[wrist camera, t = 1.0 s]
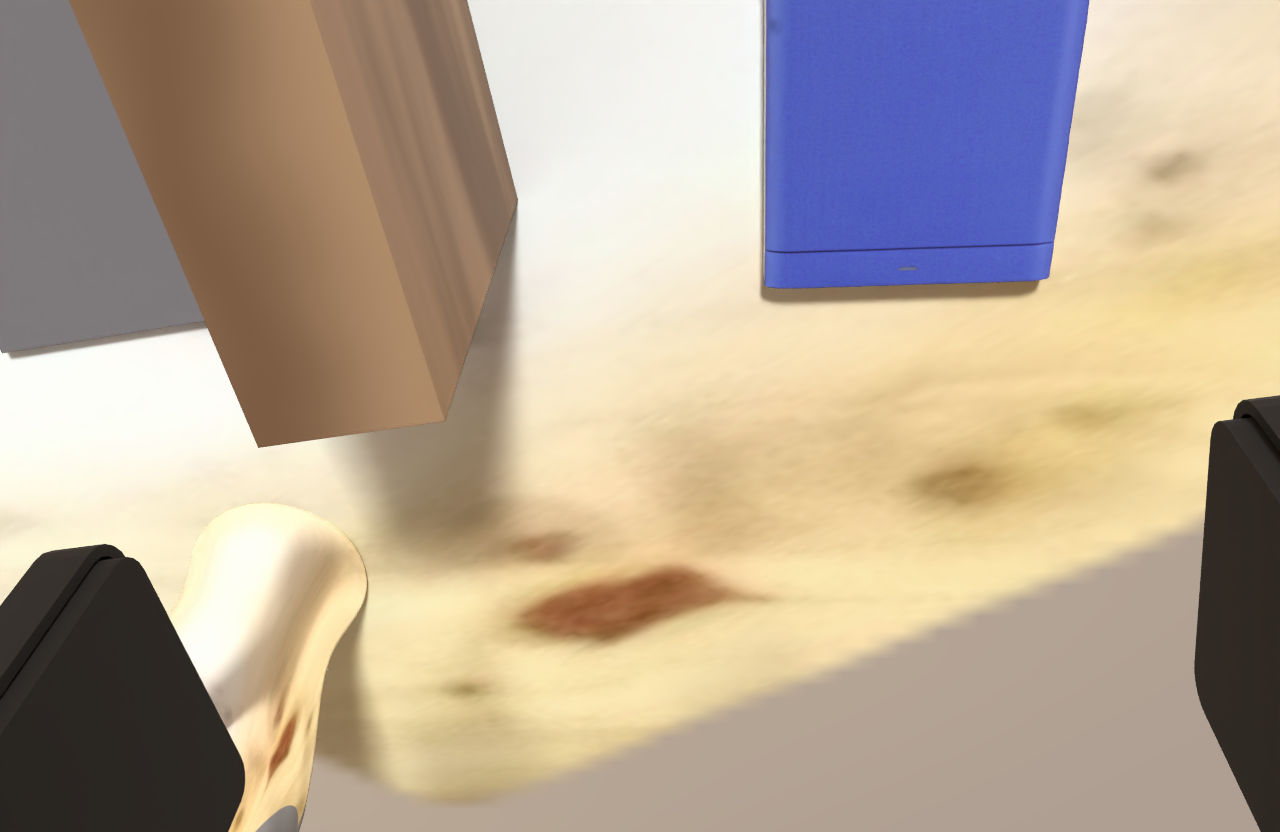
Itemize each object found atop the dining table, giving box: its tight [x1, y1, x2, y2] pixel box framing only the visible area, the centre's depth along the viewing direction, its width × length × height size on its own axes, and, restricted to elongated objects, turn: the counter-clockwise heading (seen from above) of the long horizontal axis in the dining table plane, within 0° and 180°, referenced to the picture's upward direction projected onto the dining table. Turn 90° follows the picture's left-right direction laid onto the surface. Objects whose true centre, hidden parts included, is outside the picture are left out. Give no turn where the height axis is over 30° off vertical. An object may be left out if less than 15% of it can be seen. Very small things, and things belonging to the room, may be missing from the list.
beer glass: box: [168, 503, 367, 832], centre depth 35 cm, size 7×7×15 cm
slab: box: [69, 0, 518, 448], centre depth 27 cm, size 4×10×12 cm, turn 11°
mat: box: [0, 0, 204, 353], centre depth 33 cm, size 11×14×1 cm
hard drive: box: [764, 0, 1089, 288], centre depth 31 cm, size 2×8×12 cm
